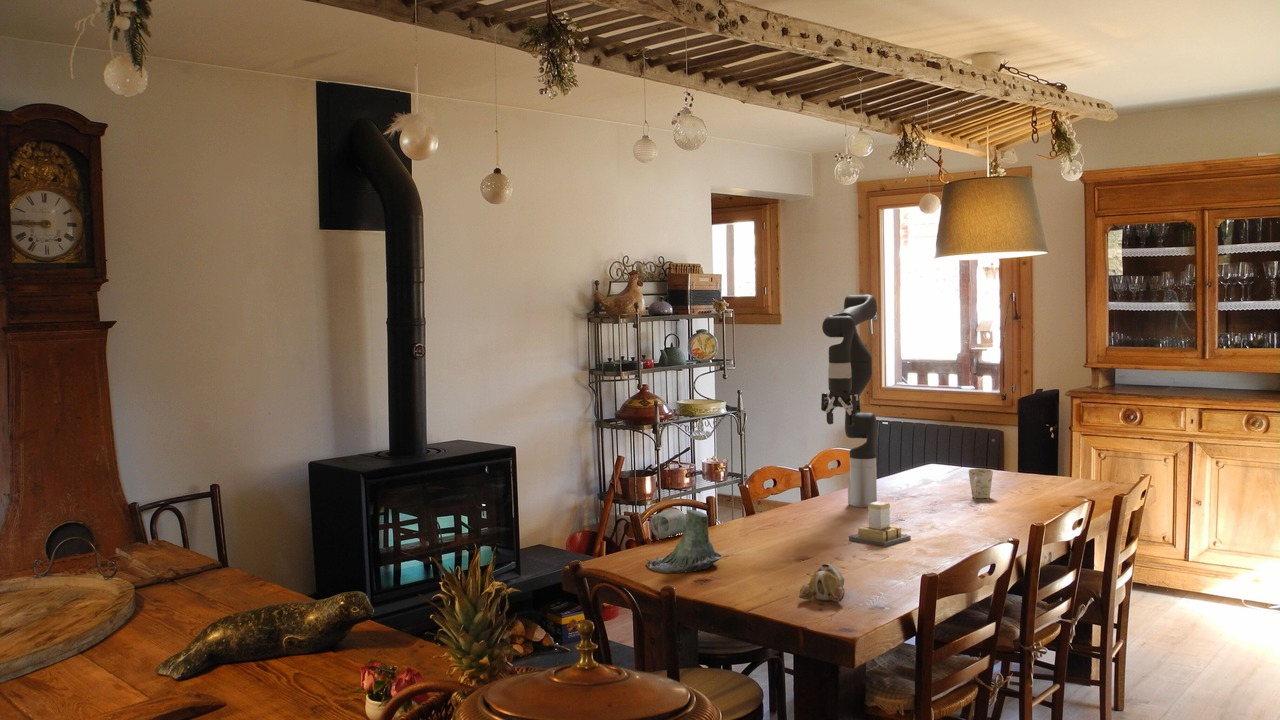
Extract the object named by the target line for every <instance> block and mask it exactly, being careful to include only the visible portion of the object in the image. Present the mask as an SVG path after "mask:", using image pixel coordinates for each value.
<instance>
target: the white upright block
mask: <svg viewBox="0 0 1280 720" xmlns="http://www.w3.org/2000/svg"><path fill="white" fill-rule="evenodd" d="M890 508H891V503H890V502H883V501H879V500H877V501H876V502H872V503H868V507H867V509H868V525H869V529H874V530H879V531H884V530H887V529H890V526H891V517H890V515H891V514H890Z"/></svg>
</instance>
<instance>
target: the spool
mask: <svg viewBox="0 0 1280 720" xmlns="http://www.w3.org/2000/svg"><path fill="white" fill-rule="evenodd" d="M685 521H686V515H685V513H684V512H683V511H681V510H680V509H676V508H672V509H671V508H670V509H666V510H663V511H660V512H659V513H657V514H654V515H652V517H651V518H650V521H649V526H650V530H651V531H652V533H653V535H654V536H655V537H656V538H658V539H661V540H664V539H666V538H669V537H673V536H676V535H679V534H683V531H684V529H683V525H685Z"/></svg>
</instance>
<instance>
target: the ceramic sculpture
mask: <svg viewBox="0 0 1280 720" xmlns="http://www.w3.org/2000/svg"><path fill="white" fill-rule="evenodd" d="M844 577H845V576H843V573H842V572H841V570H840V569H839V568H838V567H837V566H836V565H835V564H834V563H833V562H832V561H829V563H827V564H826V563H823V564H821V565H820V566H818V569H817V570H816V571H814V572H813V574H812V576H811V578H810V581H809V583H807V584H803V585H802V587H801V588H800V591H799V595H798V598H799V599H803V600H810V599H812V598H813V597H814V598H816V599H818V600H820V601H833V602H835V603H839V602H841V601H842V600H843V599H844V597H845V588H844V585H845V578H844Z"/></svg>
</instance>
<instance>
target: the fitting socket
mask: <svg viewBox="0 0 1280 720" xmlns="http://www.w3.org/2000/svg"><path fill="white" fill-rule="evenodd" d="M857 529H858V532H857V533H856V534H852V535H849V536H848V541H851V542H856V543H862V544H867V545H871V546H877V547H880V548H881V547H883V548H887V547H890V546H893V545H897V544H900V543H904V542H908V541H911V535H908V534H902V527H899V526H894V525H893V526H892V525H890V529H887V530H884V531H879V530H874V529H869V524H868V525H864V526H862V527H861V526H859V527H858V528H857Z"/></svg>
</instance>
